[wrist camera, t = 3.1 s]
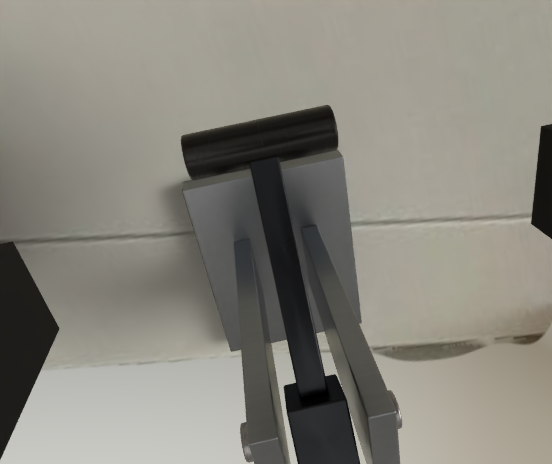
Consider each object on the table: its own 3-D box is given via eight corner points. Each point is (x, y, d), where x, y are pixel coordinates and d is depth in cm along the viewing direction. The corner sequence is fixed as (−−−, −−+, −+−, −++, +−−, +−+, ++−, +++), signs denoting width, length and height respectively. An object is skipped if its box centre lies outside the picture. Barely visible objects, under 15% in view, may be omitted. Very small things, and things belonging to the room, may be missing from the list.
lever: (187, 140, 18) (175, 130, 16) (323, 111, 18) (333, 97, 16) (258, 458, 19) (257, 495, 16) (388, 429, 19) (406, 461, 17)
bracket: (183, 181, 26) (152, 375, 13) (337, 149, 26) (457, 308, 13) (230, 339, 32) (241, 581, 19) (356, 311, 32) (453, 532, 19)
